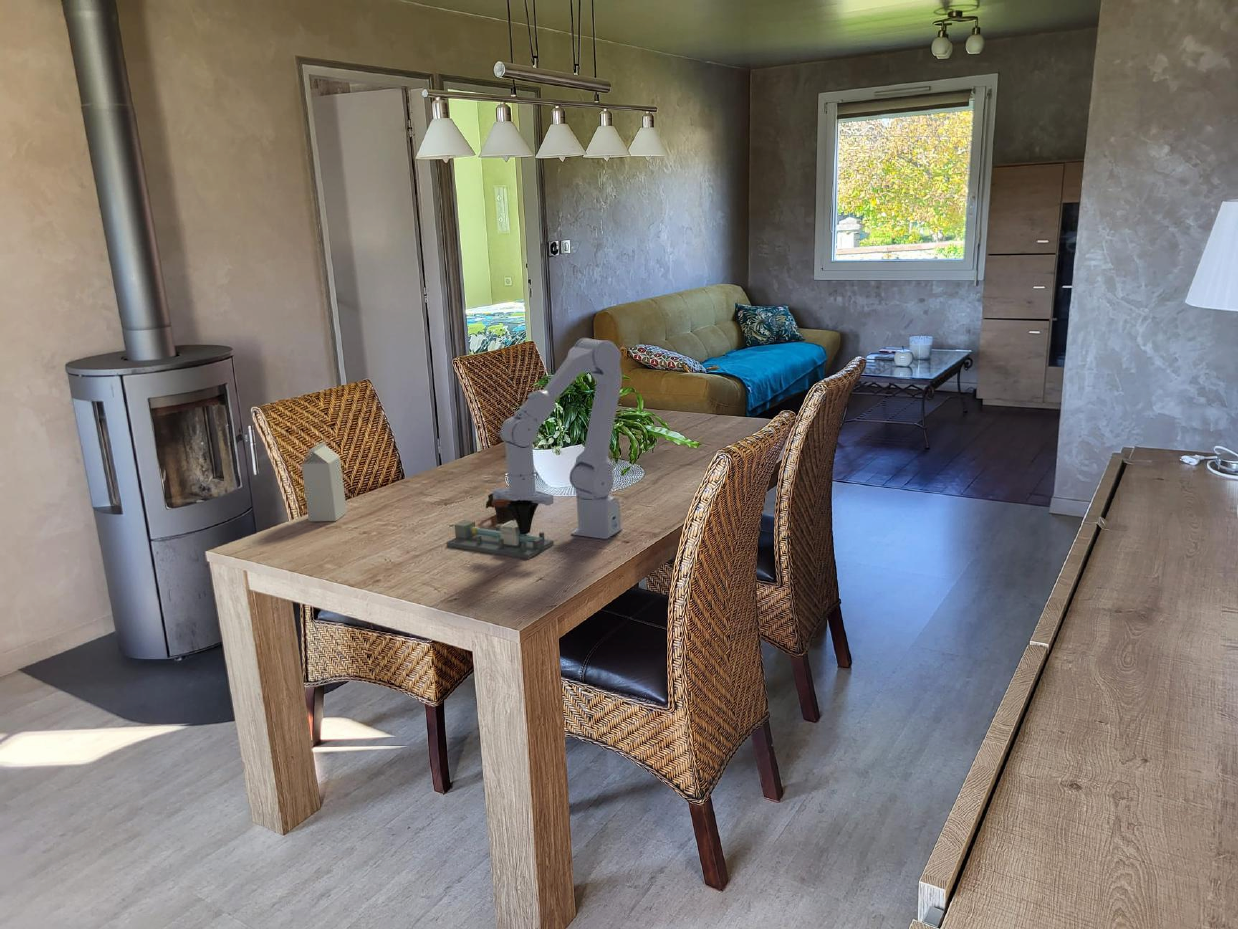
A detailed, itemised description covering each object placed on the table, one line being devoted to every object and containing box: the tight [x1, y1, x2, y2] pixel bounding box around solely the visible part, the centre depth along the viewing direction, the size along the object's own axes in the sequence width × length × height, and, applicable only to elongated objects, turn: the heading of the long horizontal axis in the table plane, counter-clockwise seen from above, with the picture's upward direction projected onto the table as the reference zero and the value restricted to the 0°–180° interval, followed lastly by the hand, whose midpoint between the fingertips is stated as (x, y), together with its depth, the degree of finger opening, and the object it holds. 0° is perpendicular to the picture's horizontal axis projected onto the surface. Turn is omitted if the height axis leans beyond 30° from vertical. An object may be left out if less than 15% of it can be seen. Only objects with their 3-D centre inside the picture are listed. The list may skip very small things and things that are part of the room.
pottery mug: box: [485, 492, 516, 526], centre depth 222 cm, size 12×10×8 cm
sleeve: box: [499, 520, 528, 546], centre depth 202 cm, size 4×4×4 cm
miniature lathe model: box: [446, 519, 555, 560], centre depth 204 cm, size 22×10×4 cm, turn 61°
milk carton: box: [300, 440, 348, 522], centre depth 229 cm, size 7×7×19 cm
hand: (525, 533), depth 200 cm, fingers closed
